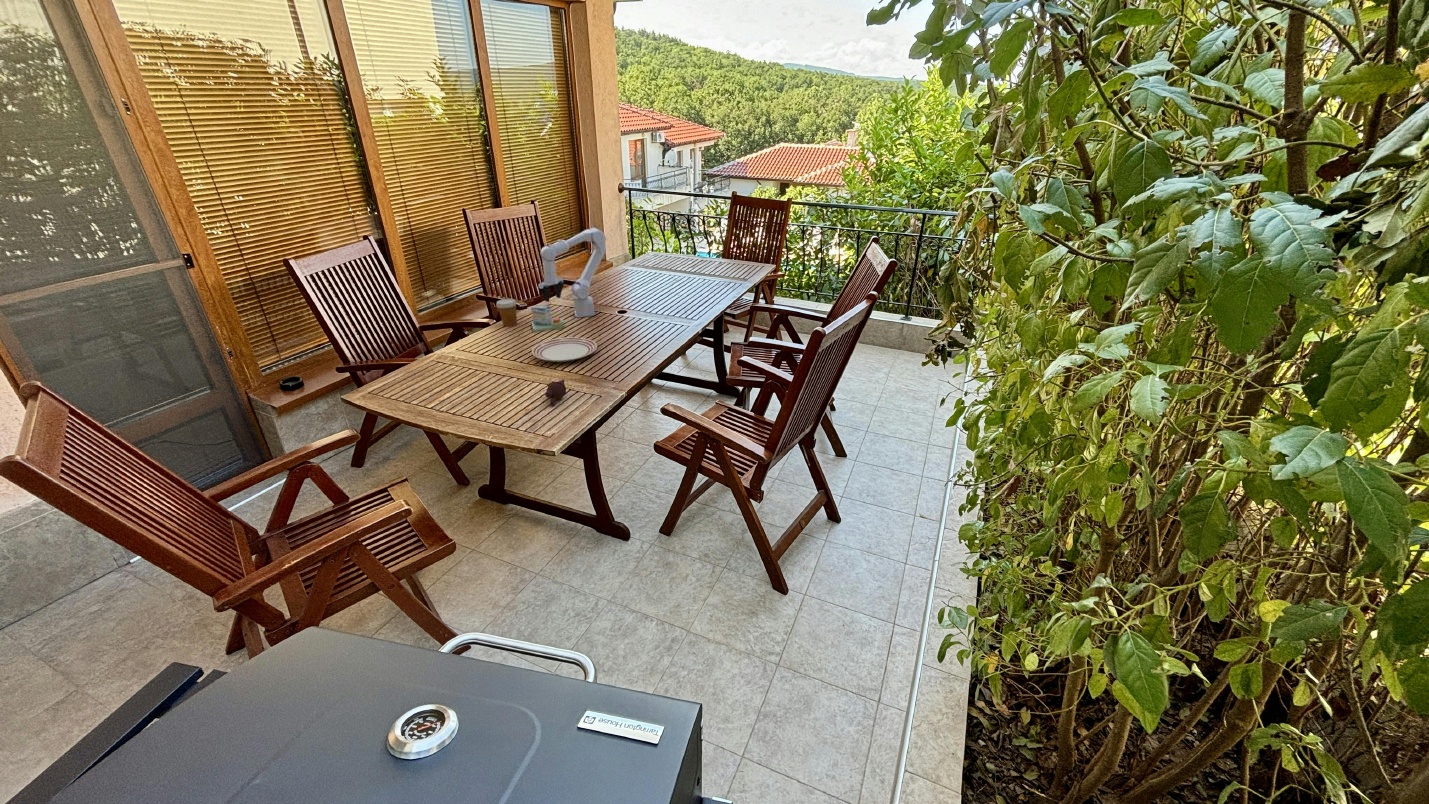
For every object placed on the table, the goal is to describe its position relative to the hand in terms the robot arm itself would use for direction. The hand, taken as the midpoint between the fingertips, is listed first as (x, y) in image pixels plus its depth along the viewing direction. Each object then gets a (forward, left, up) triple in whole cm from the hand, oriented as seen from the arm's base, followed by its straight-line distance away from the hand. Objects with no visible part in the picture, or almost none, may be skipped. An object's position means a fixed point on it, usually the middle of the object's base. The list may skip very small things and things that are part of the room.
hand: (552, 299), depth 296 cm
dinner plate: (+1, +49, -11) cm, 50 cm away
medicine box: (+7, +8, -9) cm, 14 cm away
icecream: (+9, +91, -11) cm, 92 cm away
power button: (+1, +12, -8) cm, 15 cm away
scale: (+5, +9, -10) cm, 15 cm away
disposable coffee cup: (+22, -1, -11) cm, 25 cm away
